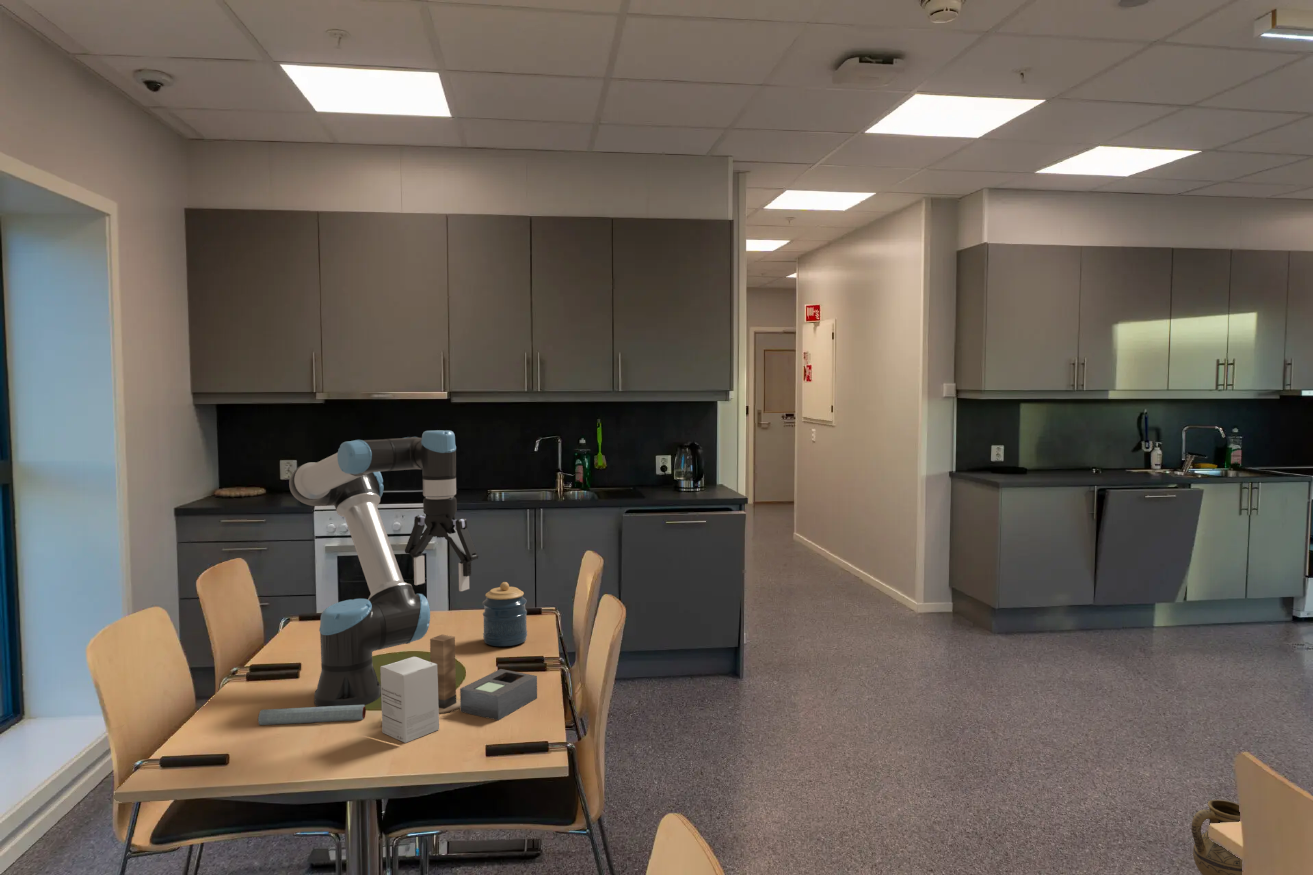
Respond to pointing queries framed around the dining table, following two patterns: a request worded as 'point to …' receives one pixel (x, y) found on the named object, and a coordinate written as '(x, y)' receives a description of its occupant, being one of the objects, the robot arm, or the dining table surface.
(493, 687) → the on button
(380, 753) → the dining table surface
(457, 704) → the coaster
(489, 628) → the canister
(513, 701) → the grey slotted holder
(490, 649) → the dining table surface
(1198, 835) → the decorative pitcher
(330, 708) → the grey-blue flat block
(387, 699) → the supplement box
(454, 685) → the walnut bar
